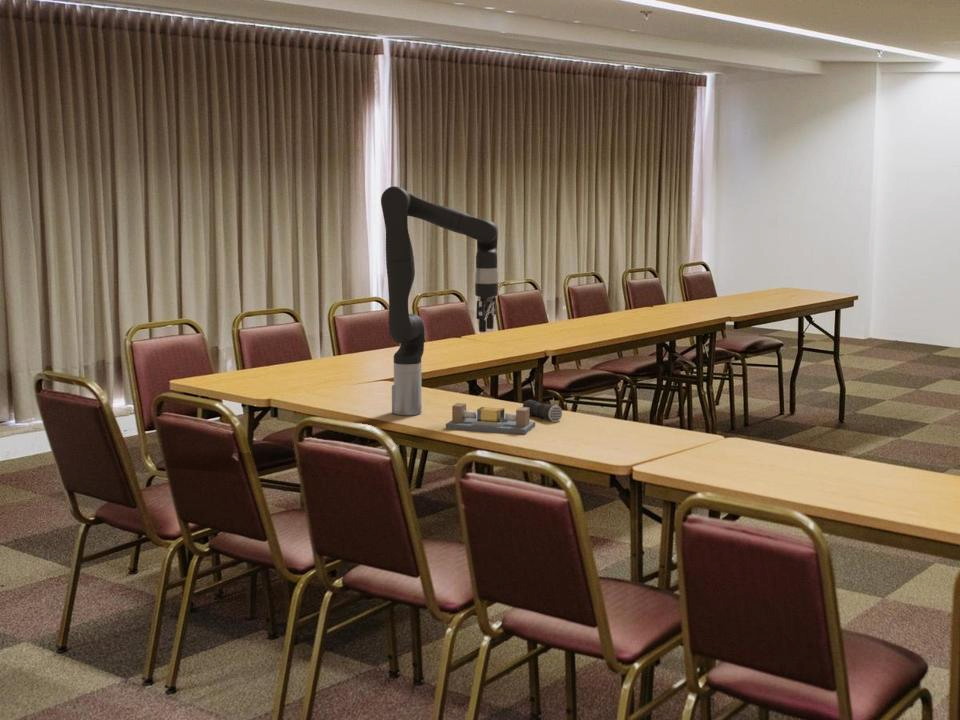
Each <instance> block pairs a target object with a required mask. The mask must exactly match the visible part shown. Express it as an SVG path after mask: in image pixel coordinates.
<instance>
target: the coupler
mask: <svg viewBox="0 0 960 720" xmlns="http://www.w3.org/2000/svg"><path fill="white" fill-rule="evenodd" d="M476 412H477V417H476V418H477V421H483V422H498V423H502V424H503V423H504V418H505V408H504V407H492V406H491V407H490V406H489V407H488V406H481V407H479V408H478V409H477V410H476Z"/></svg>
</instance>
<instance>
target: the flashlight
mask: <svg viewBox="0 0 960 720" xmlns="http://www.w3.org/2000/svg"><path fill="white" fill-rule="evenodd" d="M522 407H528V408H530V416H535V417H540V418H542V419H543V420H546V421H547V422H548V421H549V422H553V423H554V422H555V423H556V422H559V421H560V420H561V418H562V417H563V409H562V407H561V406H559V405H557V404H554V403H553V404H551V403H550V404H548V403H541V402H539V401H537V400H533V399H528V400H525V401H524V402H523V404H522Z"/></svg>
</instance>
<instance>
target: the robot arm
mask: <svg viewBox="0 0 960 720" xmlns="http://www.w3.org/2000/svg"><path fill="white" fill-rule="evenodd" d="M380 205H381V209H382V214H383V220H384V228H385V265H386V266H385V267H386V274H387V276H386V277H387V288H388V289H387V290H388V291H387V292H388V332H389V335H390V338H391V339H392V341H394V343H396V344H398V345H399V344H400V345H399V348H398V349H397V351H395V353H394V355H393V384H392V385H391V414H392V413H394V415H397V416H398V415H399V416H416V415H420V414H422V400H423V399H422V358H423V355H424V352H425V351H424V349H425V325H424V321H423V319H422V317H420V316H419V315H418V314H415V313H409V296H410V293H411V291H412V287H413V284H414V282H415V281H414V280H415V277H416V270H415V256H414V250H413V245H412V241H411V238H410V234H409V228H408V227H409V226H408V225H409V224H408V217H411V218H417V219H419V220H423V221H425V222H428V223H430V224H433V225H435V226H437V227H440V228H442V229H445V230H447V231H450V232H453V233H456V234H460V235H465V236H467V237H468V238H471V239H474V240H476V246H477V249H476V251H477V252H476V255H475V274H474V277H475V278H474V284H475V285H474V290H475V291H474V295H475V297H480V298H479V300H476V317H475V318H476V320H478V332H480V333H486V332H487V330H493V329H494V320H495V319H494V318H495V317H496V315H497V296H498V294H499V274H498V273H499V272H498V252H497V250H498V237H499V230H498V226H497V224H496V223H494V221H492V220H485V219H481V218H477V217H475V216H472V215H470V214H468V213H467V212H463V211H460V210H457V209H454V208H451V207H448V206H446V205H445V206H444V205H440V204H436V203H433V202H430V201H427V200H425V199H423V198H420V197H417V196H416V195H414V194H412V193H410V192H409V191H407V190H406V189H404V188H403V187H400V186H389V187H387V188H386V189H385V190H384V191H383V192H382V194H381V197H380Z"/></svg>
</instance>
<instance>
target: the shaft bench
mask: <svg viewBox="0 0 960 720" xmlns="http://www.w3.org/2000/svg"><path fill="white" fill-rule="evenodd" d="M451 407H452V408H451V411H452V412H451V415H452V417H451V418H452V419H451V420H449V421H448V422H447V423H445V429H446V428H451V429H450V430H458V429H461V430H462V431H473V432H474V431H475V432H489V433H490V432H491V433H501V432H506V433H505V434H515V433H523V434H522V435H527V434H528V433H529V432H530V431H531V430H533V429H534V428H535V427H536V421H530V418H531V415H530V408H528V407H523V406H520V407H519V408H516V411H515V413H511V412H506V413H504V423H503V424H502V423H498V422H483V421H477V410H467V403H462V402H457V403H455V404H453V405H452V406H451ZM532 428H533V429H532ZM528 431H529V432H528ZM527 432H528V433H527Z"/></svg>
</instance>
